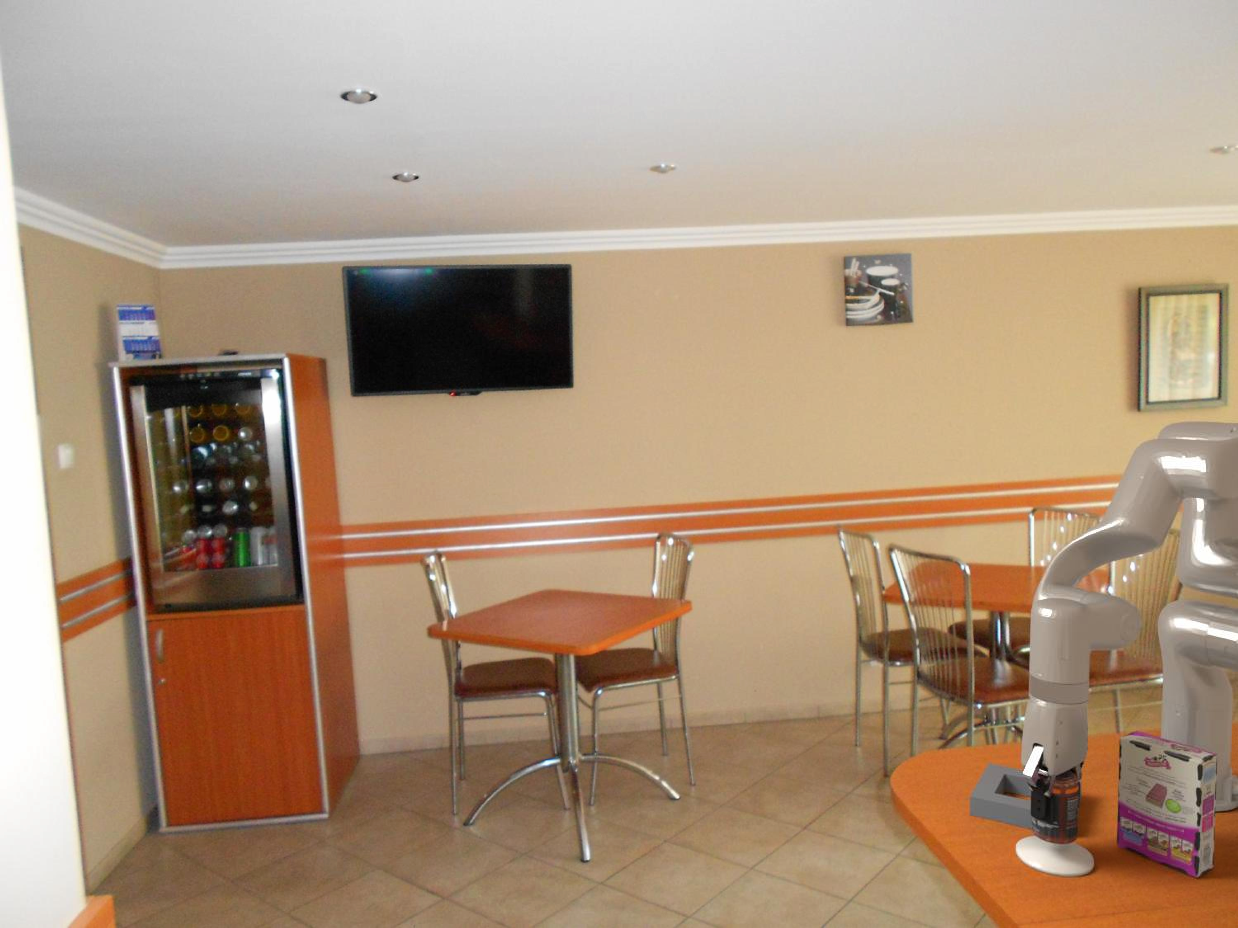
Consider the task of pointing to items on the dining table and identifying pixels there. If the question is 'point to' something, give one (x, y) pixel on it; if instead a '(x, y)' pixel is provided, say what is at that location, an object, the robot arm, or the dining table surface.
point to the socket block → (1002, 796)
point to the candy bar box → (1167, 802)
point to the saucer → (1055, 857)
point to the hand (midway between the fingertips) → (1055, 811)
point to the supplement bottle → (1061, 811)
